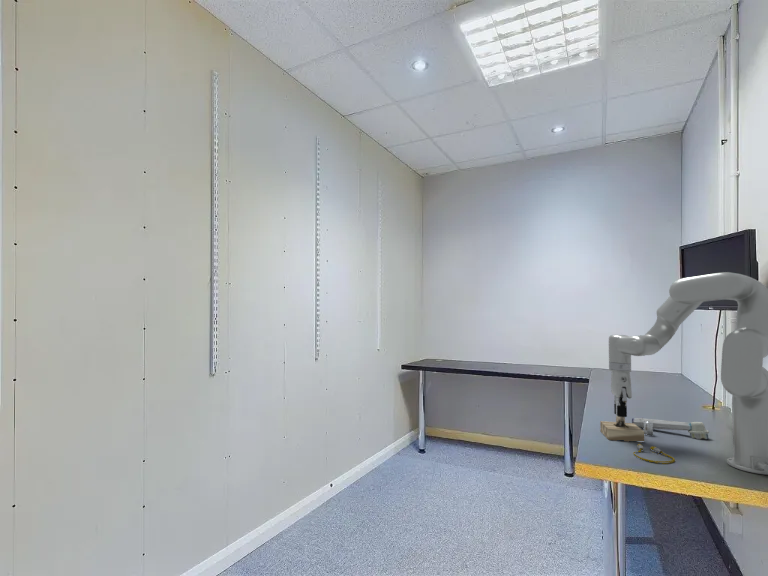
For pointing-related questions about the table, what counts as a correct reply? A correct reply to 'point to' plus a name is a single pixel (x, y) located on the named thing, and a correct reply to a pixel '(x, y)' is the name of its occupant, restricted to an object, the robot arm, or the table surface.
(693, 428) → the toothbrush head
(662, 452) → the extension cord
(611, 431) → the bored block
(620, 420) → the long pin
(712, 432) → the table surface
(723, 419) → the table surface
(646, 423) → the short pin
